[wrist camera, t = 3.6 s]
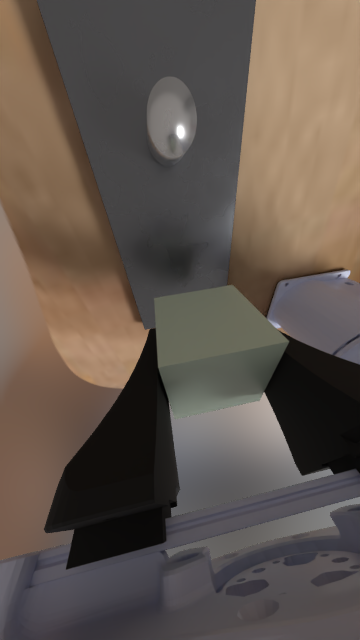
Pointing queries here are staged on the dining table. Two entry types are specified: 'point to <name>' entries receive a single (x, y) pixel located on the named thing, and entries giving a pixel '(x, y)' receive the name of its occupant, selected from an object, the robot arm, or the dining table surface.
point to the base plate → (115, 120)
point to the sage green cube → (214, 350)
